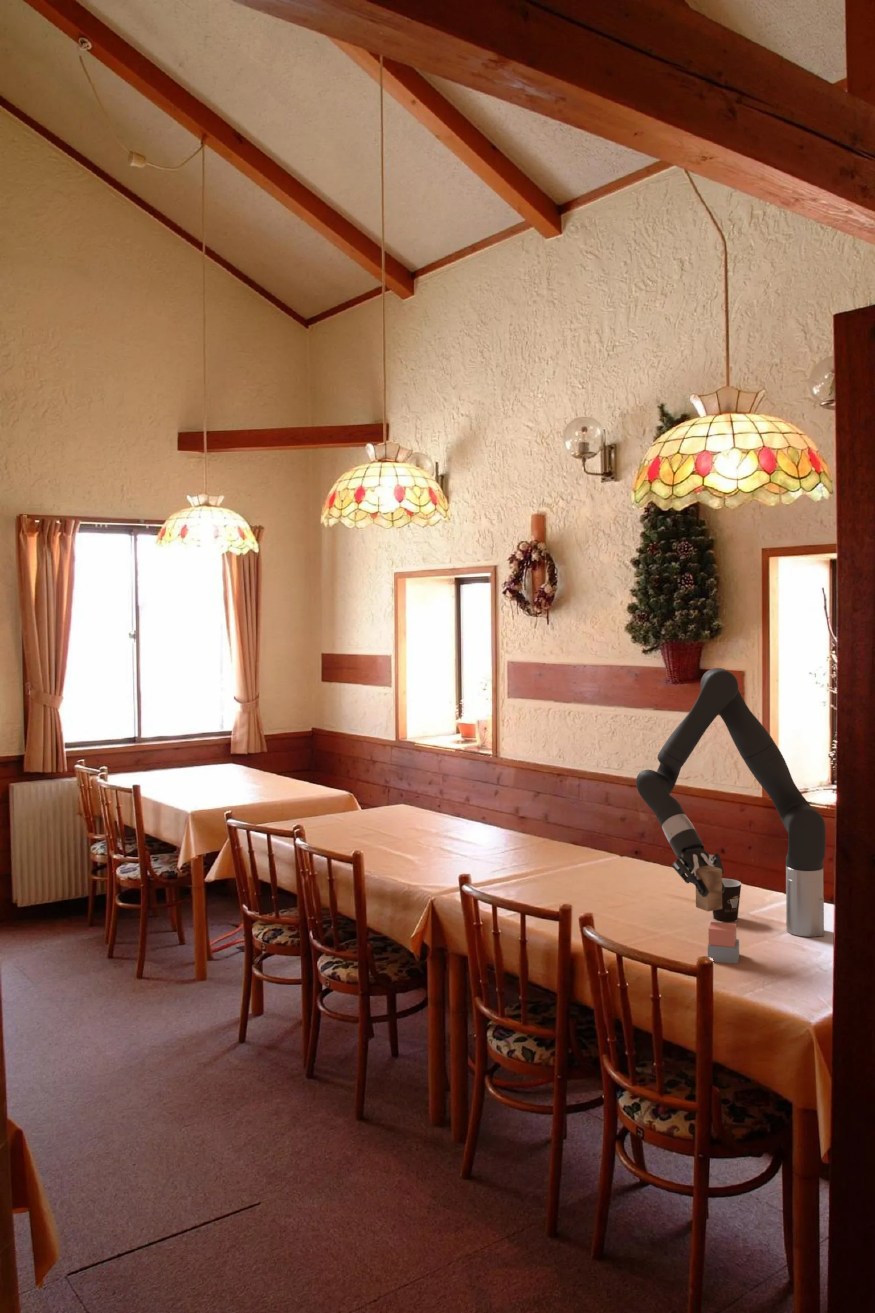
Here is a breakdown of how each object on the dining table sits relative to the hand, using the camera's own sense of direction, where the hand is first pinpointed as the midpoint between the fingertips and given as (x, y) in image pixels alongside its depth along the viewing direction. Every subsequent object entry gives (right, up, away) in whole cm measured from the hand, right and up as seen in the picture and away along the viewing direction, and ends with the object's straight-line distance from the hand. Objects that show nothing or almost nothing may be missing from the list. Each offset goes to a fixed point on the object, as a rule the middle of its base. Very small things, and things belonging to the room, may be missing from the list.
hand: (714, 893), depth 251 cm
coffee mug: (+9, -14, +29) cm, 34 cm away
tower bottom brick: (+2, -15, -2) cm, 16 cm away
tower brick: (+1, -11, -3) cm, 12 cm away
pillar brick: (-1, -4, +2) cm, 5 cm away
